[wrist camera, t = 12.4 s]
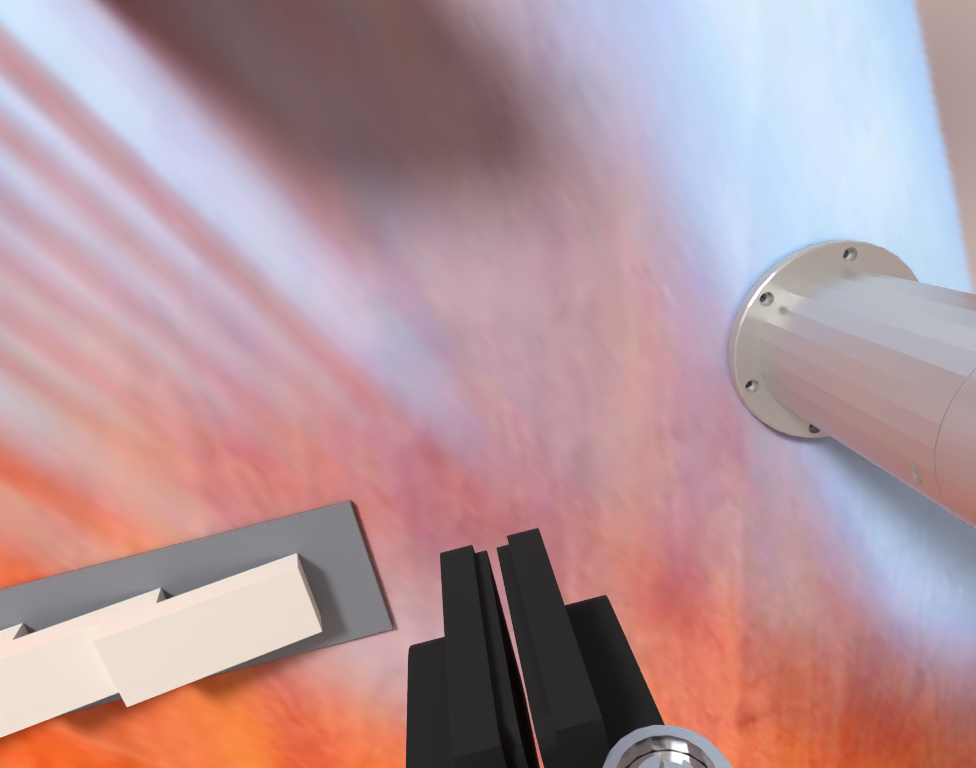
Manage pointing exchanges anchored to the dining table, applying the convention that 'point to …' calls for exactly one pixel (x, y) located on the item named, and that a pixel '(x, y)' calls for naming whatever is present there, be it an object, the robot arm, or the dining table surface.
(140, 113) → the dining table surface
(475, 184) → the dining table surface
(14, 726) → the domino
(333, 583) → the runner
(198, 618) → the domino
